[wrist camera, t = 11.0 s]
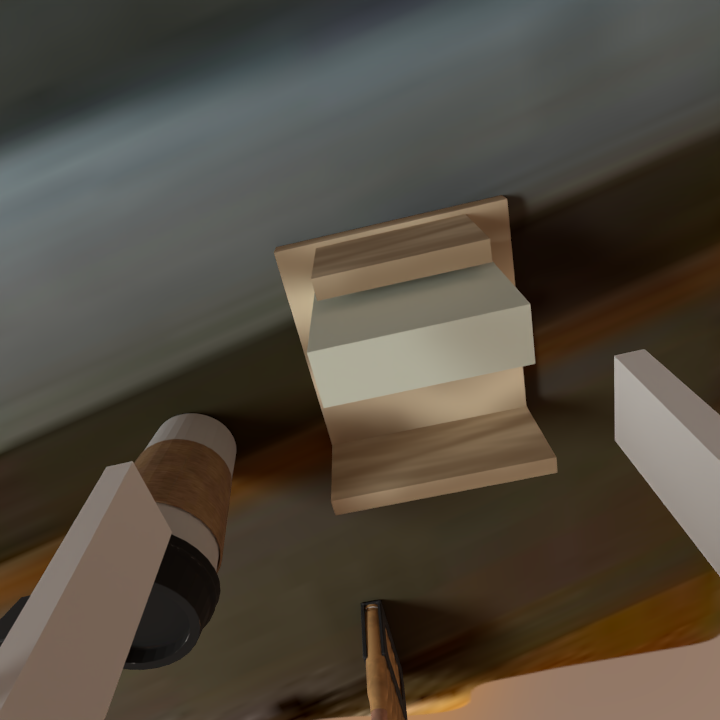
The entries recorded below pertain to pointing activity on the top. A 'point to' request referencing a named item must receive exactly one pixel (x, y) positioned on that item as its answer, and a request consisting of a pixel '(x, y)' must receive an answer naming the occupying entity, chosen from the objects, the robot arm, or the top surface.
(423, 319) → the beige rectangular block
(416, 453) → the wooden shelf with pegs
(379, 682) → the ammunition clip
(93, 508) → the robot arm
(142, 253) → the top surface
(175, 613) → the coffee cup
